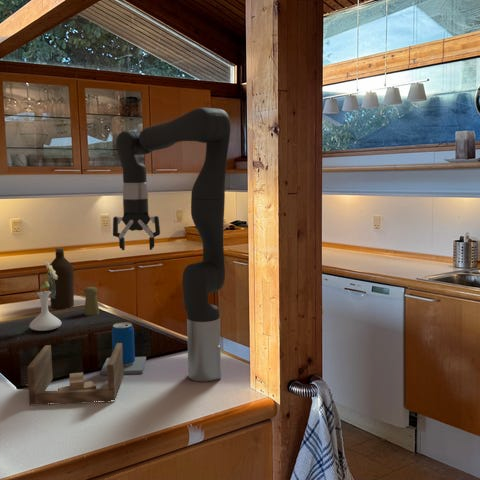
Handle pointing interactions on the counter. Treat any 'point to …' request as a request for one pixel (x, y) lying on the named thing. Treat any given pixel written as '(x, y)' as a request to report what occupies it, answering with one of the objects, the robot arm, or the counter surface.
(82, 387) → the upper offcut
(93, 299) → the cork
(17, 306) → the counter surface
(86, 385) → the lower offcut
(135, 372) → the grey mat
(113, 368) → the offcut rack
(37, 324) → the flower in vase
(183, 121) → the robot arm
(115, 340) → the beverage can
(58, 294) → the olive oil
